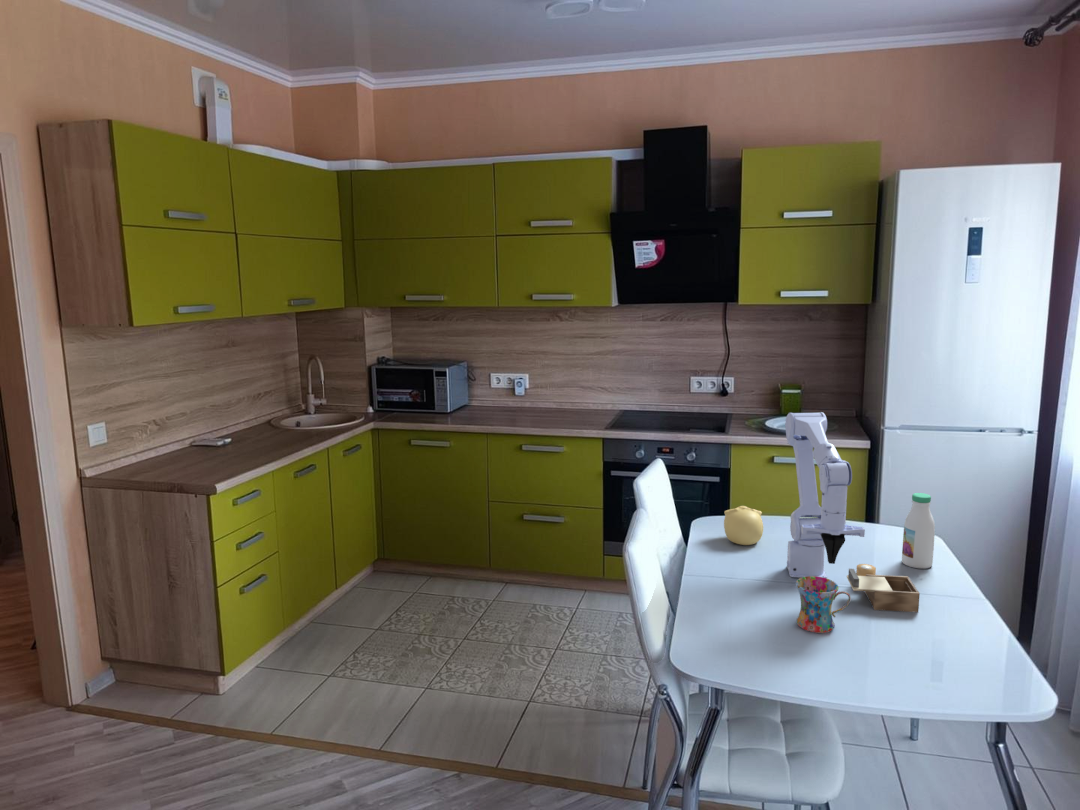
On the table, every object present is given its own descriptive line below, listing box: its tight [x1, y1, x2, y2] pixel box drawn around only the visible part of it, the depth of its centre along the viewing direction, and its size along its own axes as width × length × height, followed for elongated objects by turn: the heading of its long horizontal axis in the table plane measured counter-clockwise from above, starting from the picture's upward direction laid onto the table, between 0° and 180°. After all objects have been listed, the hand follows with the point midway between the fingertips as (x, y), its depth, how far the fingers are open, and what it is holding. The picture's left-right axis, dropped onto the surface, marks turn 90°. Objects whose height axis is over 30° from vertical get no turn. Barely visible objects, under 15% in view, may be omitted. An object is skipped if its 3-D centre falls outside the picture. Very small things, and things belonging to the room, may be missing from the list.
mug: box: [795, 576, 852, 634], centre depth 178 cm, size 12×9×11 cm
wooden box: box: [864, 574, 921, 613], centre depth 190 cm, size 10×10×5 cm
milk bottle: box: [901, 492, 936, 570], centre depth 211 cm, size 8×8×20 cm
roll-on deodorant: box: [855, 563, 877, 576], centre depth 200 cm, size 5×5×5 cm
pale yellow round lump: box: [723, 505, 764, 546], centre depth 232 cm, size 11×12×11 cm
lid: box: [846, 568, 893, 592], centre depth 191 cm, size 9×8×3 cm
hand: (831, 562), depth 191 cm, fingers closed
